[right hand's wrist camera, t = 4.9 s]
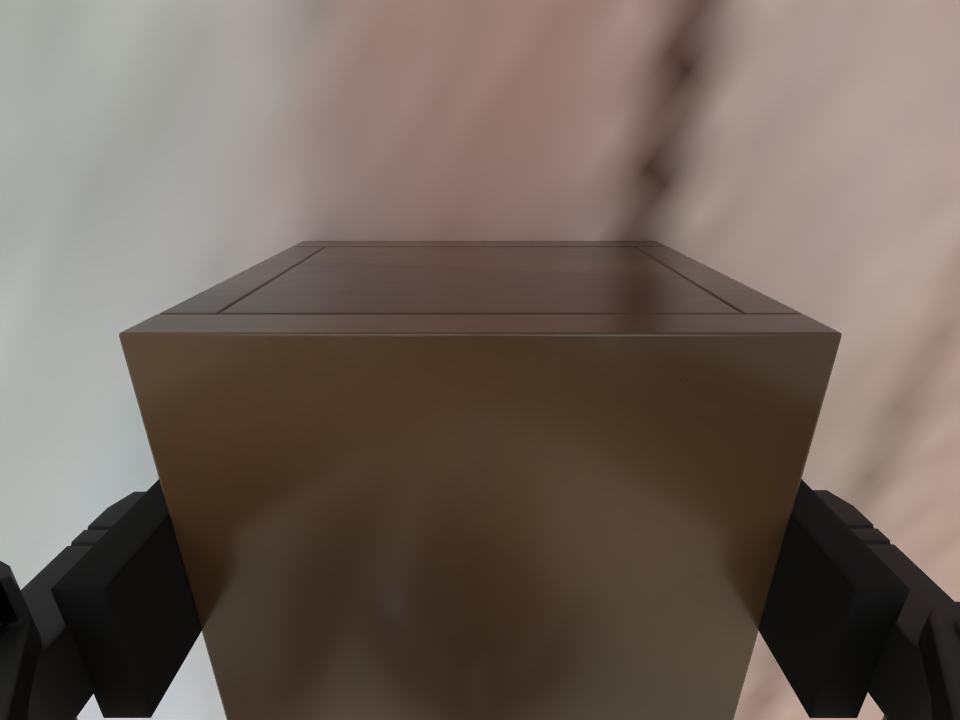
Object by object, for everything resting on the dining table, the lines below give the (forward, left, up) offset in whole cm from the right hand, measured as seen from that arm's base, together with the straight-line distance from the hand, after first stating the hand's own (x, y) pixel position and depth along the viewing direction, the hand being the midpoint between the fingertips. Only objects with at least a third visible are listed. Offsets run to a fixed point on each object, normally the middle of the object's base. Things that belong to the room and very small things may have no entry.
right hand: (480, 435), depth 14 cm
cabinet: (+3, +2, -3) cm, 5 cm away
